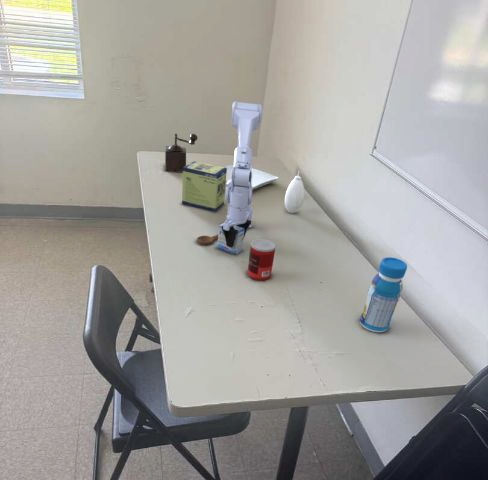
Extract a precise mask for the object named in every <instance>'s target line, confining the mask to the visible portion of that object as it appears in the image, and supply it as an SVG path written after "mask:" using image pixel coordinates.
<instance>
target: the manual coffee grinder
mask: <svg viewBox="0 0 488 480" xmlns="http://www.w3.org/2000/svg"><path fill="white" fill-rule="evenodd" d="M198 138H199V137H198V135H197V134H195V133H191V134H189V139H190V140H187V139H183V138H179V137H178V134H177V133H175V134H174V144H172V145H166V146H165V147H164V171H165V172H174V173H175V172H176V173H177V172H178V173H183V167H184V166H186V165H187V148H186V147H183V146H180V145H178V141H180V142H184V143H187V144H189V145H190V146H193V145H195V144H196V141H197V140H198Z"/></svg>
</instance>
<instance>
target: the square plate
mask: <svg viewBox="0 0 488 480" xmlns="http://www.w3.org/2000/svg"><path fill="white" fill-rule="evenodd" d="M233 166H234V163H233V164H228V165H226V166H223V167H224V168H227V174H226V186H225V187H227V182H228V181H229V180H230V179H231V174H232V169H233ZM279 178H280V177H279V176H277V175H274V174H271V173H268V172H265V171H264V170H259V169H256V168H253V167H252V182H251V183H252V191H253V190H256V189H258V188H260V187H264V186H266V185H269V184H271V183H273V182H275V181H277V180H278V179H279Z"/></svg>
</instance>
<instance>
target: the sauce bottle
mask: <svg viewBox="0 0 488 480" xmlns="http://www.w3.org/2000/svg"><path fill="white" fill-rule="evenodd" d="M304 201H305V186H304V182H303V180H302V177H301V176H300V171H298V172H297V175H295V176H294V178H293V179H292V180H291V182H290V183H289V185H288V186H287V188H286V192H285V194H284V206H285V209H286V210H287V211H288V212H289V213H290V214H294V213H297V212H298V211H299V210H300V209H301V208H302V206H303V204H304Z"/></svg>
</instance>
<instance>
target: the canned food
mask: <svg viewBox="0 0 488 480" xmlns="http://www.w3.org/2000/svg"><path fill="white" fill-rule="evenodd" d="M276 245H277V244H276V243H275V242H274V241H273V240H270V239H267V238H256V239H253V240H252V241H251V243H250V248H249V254H248V255H249V256H248V264H247V275H248V277H249V278H250V279H252V280H254V281H261V282H264V281H268V280H269V279H270V278H271V276H272V271H273V265H274V259H275V254H276V253H275V252H276V247H277V246H276Z"/></svg>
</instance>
